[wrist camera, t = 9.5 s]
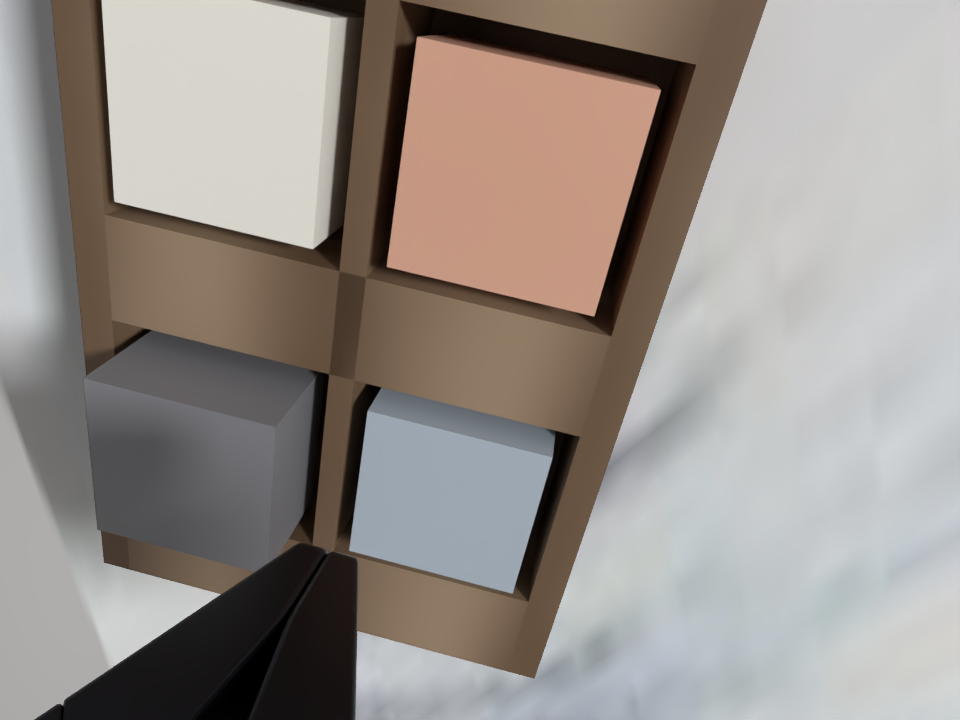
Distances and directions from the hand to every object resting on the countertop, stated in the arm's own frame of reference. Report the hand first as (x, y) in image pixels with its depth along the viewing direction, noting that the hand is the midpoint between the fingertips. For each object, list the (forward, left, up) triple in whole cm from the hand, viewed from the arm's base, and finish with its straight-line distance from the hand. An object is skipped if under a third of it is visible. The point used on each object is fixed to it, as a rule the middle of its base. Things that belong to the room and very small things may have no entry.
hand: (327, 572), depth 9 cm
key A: (+5, -4, -9) cm, 12 cm away
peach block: (-1, -4, -10) cm, 10 cm away
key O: (+5, +4, -8) cm, 10 cm away
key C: (-1, +4, -10) cm, 10 cm away
